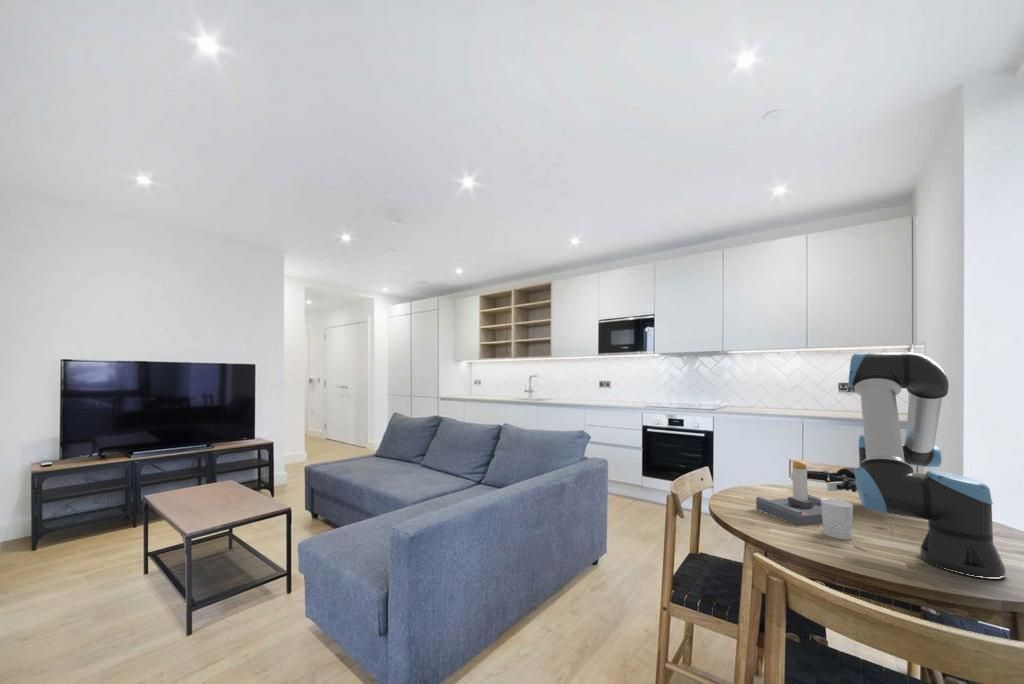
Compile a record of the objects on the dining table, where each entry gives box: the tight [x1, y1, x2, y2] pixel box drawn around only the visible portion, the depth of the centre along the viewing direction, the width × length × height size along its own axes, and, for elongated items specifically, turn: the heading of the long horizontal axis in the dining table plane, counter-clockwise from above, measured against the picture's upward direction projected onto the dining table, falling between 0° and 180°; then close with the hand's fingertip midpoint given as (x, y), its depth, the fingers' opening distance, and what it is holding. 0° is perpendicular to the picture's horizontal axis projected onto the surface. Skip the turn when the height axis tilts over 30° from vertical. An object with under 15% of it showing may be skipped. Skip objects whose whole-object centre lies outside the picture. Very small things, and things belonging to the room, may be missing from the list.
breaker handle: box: [787, 460, 813, 508], centre depth 147 cm, size 6×4×15 cm, turn 16°
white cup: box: [820, 498, 854, 541], centre depth 129 cm, size 8×8×10 cm
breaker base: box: [755, 494, 823, 527], centre depth 146 cm, size 16×22×4 cm
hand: (809, 481), depth 149 cm, fingers open, 13 cm apart
